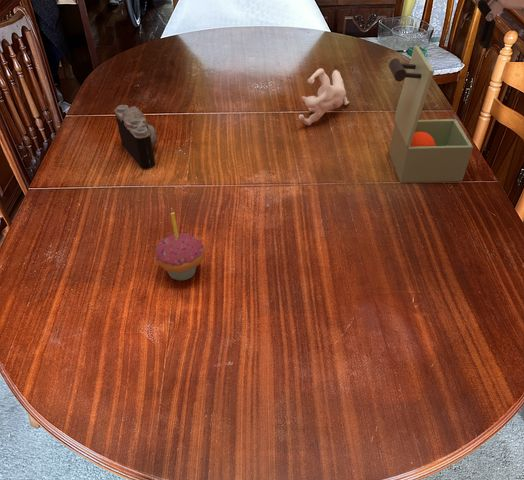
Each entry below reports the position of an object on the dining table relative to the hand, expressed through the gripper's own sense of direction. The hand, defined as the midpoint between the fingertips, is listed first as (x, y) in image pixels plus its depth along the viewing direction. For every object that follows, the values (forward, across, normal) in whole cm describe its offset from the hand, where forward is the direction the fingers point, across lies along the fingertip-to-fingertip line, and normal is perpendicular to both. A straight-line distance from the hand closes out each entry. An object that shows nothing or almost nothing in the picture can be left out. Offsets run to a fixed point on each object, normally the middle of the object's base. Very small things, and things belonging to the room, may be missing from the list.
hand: (512, 44), depth 85 cm
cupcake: (+28, -57, -23) cm, 67 cm away
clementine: (+25, -4, +13) cm, 28 cm away
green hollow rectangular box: (+29, -6, +12) cm, 32 cm away
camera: (+28, -70, +20) cm, 78 cm away
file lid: (+13, -11, +12) cm, 21 cm away
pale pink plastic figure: (+28, -26, +38) cm, 54 cm away
